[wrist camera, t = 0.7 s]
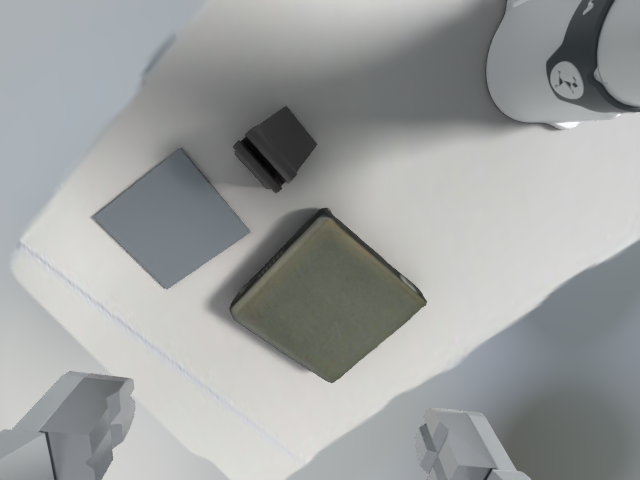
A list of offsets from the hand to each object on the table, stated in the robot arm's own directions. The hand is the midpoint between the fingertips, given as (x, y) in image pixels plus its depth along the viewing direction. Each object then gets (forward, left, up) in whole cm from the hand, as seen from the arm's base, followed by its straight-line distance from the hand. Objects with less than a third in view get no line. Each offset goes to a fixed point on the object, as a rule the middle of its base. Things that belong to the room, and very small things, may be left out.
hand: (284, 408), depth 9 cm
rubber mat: (+19, -5, -36) cm, 41 cm away
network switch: (+8, +17, -37) cm, 42 cm away
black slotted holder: (+1, -5, -37) cm, 37 cm away
